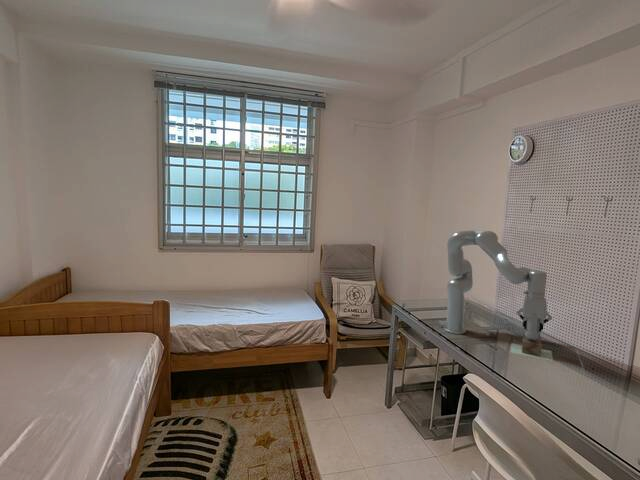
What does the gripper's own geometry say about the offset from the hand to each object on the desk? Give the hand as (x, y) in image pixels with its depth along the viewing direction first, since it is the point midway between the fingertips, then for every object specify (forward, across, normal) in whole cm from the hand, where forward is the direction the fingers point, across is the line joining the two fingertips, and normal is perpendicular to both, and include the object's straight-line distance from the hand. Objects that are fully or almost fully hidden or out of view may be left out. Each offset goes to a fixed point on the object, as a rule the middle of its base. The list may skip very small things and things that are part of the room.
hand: (532, 329), depth 172 cm
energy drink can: (+5, 0, 0) cm, 5 cm away
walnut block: (+12, 0, 0) cm, 12 cm away
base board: (+13, 0, 0) cm, 13 cm away
